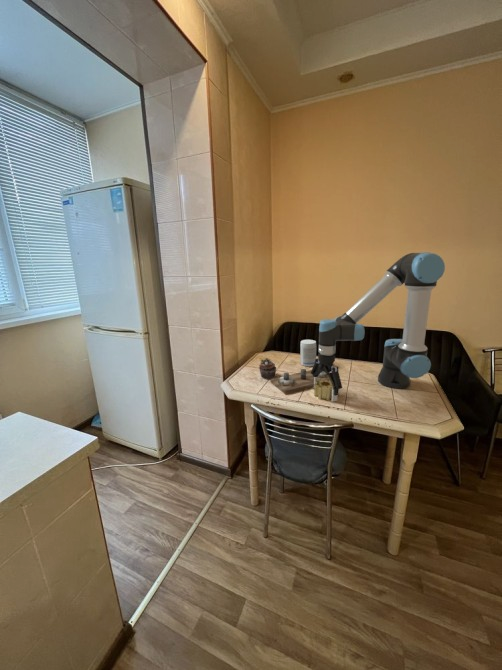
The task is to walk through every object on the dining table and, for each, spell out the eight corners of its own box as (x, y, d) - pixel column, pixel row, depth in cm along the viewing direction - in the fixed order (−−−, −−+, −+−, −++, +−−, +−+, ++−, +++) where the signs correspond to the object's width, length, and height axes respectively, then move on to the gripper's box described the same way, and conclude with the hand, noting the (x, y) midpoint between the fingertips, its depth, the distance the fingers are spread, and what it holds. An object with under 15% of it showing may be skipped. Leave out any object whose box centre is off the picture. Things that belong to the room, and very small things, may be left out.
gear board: (335, 381, 149) (336, 369, 147) (285, 394, 137) (285, 381, 135) (318, 371, 162) (318, 360, 160) (271, 382, 150) (270, 370, 148)
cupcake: (270, 381, 152) (270, 363, 150) (256, 376, 158) (255, 360, 155) (279, 374, 160) (279, 358, 157) (265, 371, 165) (265, 355, 163)
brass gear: (340, 397, 132) (340, 385, 131) (323, 402, 129) (323, 390, 127) (326, 388, 141) (327, 377, 140) (310, 393, 137) (310, 381, 136)
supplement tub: (319, 364, 172) (320, 341, 168) (308, 368, 167) (308, 345, 163) (307, 360, 180) (308, 338, 176) (297, 363, 175) (297, 341, 171)
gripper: (304, 346, 139) (303, 385, 144) (338, 363, 117) (336, 408, 122) (316, 344, 142) (315, 382, 147) (352, 360, 120) (349, 404, 125)
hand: (324, 394), depth 135 cm, fingers open, 13 cm apart
